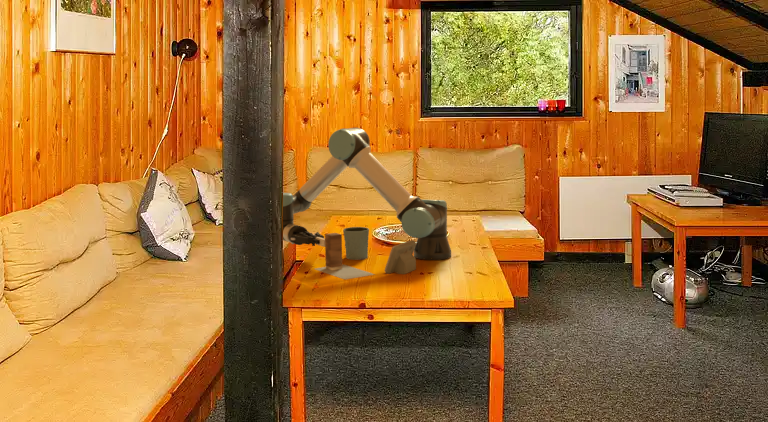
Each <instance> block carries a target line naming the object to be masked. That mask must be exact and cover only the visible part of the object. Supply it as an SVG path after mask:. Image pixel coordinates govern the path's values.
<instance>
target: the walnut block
mask: <svg viewBox="0 0 768 422" xmlns="http://www.w3.org/2000/svg"><path fill="white" fill-rule="evenodd" d="M342 237H343V236H342V234H341V233H337V232H332V233H324V239H325V247H324V249H325V267H326V268H327V269H330V270H337V269H342V264H343V241H342V239H343V238H342Z"/></svg>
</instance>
